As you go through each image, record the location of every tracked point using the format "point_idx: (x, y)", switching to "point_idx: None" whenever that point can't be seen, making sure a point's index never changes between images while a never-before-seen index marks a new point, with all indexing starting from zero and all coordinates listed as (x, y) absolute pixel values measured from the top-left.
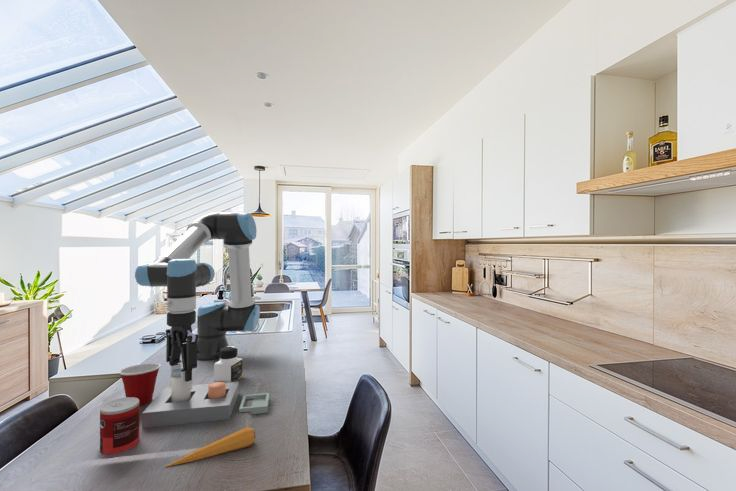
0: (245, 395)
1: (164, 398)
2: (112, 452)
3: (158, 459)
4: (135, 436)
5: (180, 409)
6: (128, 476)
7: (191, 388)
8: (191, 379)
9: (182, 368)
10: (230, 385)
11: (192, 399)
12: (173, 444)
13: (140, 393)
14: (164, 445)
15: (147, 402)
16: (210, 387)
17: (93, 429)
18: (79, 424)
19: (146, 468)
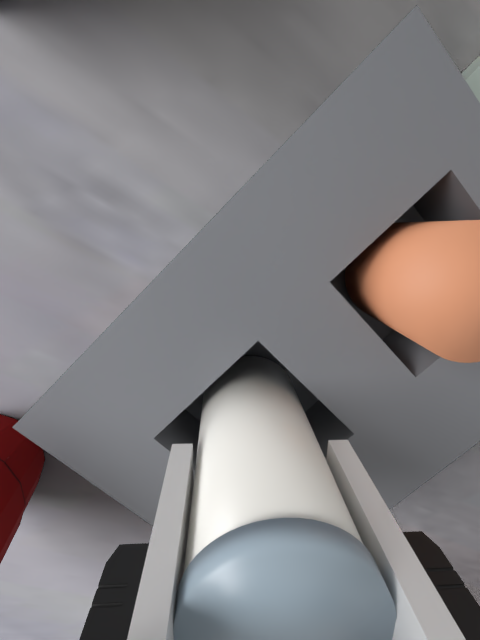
0: (477, 81)
1: None
2: None
3: (464, 550)
4: None
5: (398, 501)
6: None
7: (353, 450)
8: (430, 541)
9: (205, 599)
10: (409, 118)
11: (351, 414)
12: (437, 498)
13: (6, 547)
14: (414, 515)
15: (32, 457)
16: (464, 353)
17: (89, 602)
18: (4, 618)
19: (470, 580)
